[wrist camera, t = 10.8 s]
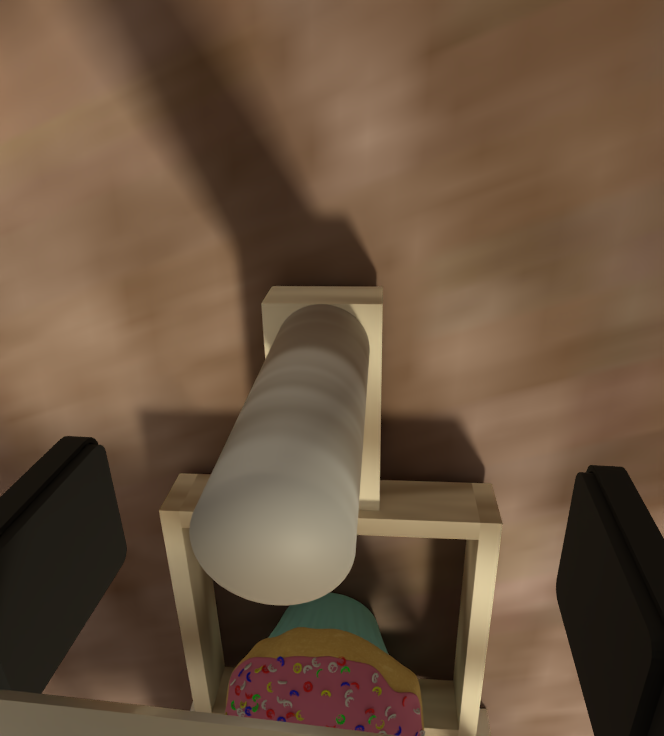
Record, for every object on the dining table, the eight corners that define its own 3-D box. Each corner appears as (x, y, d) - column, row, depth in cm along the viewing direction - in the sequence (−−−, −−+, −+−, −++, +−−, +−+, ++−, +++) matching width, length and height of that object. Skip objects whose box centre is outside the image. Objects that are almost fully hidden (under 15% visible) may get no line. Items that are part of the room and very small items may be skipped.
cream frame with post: (150, 285, 22) (-76, 461, 11) (513, 287, 20) (648, 485, 10) (211, 676, 30) (117, 983, 20) (468, 692, 29) (514, 1028, 19)
